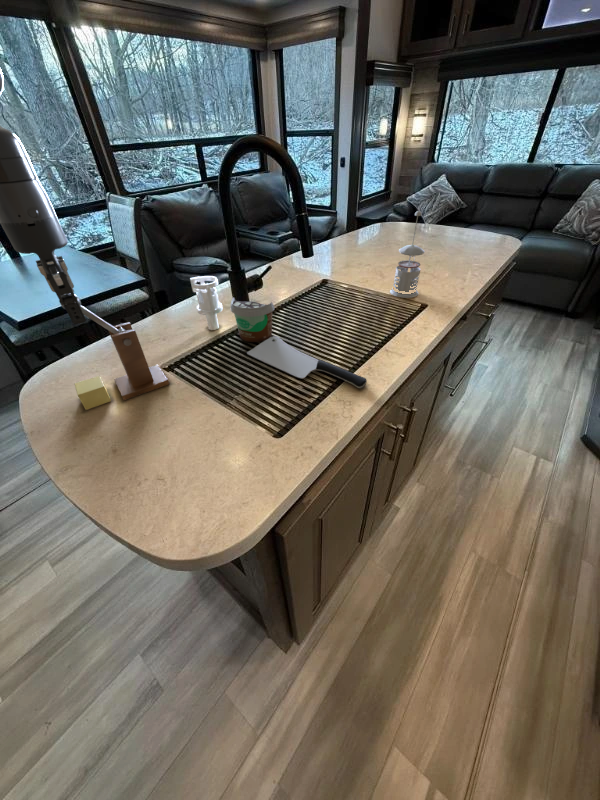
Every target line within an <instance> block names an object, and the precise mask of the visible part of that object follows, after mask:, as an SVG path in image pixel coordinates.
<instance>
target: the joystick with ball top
mask: <svg viewBox="0 0 600 800" xmlns="http://www.w3.org/2000/svg"><path fill="white" fill-rule="evenodd" d="M70 295H71V293H65V294H63V295H62V297H65V296H70ZM75 296H76V297H77V298H78V304H79V306H80V308H81V310H82V312H83V314H84V316H85V317H86V318H89V319H90V320H91V321H93V322H95V323H97V324H98V325H100V326H101V327H103V328H104V329H106V330H107V331H108V330H109V331H110V332H112V333H113V334H117V333H120V332H124V331H126V330H125V329H123V328H122V327H120V328H119V329H116V328H115V327H113V326H114V325H112V324H111V323H109V322H107V321H106V320H105V319H103V318H101V317H99V316H98V315H97V314H96V313H94V312H92V311H91V310H89V309H87V308H86V307H85V306H83V305H82V301H81V298H80V297H79V296H78V295H76V294H75ZM60 306H61V308H63V309H64V310H65V311H66V309H65V307H64V305H62V304H60ZM109 331H108V332H109Z"/></svg>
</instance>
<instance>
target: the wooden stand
mask: <svg viewBox="0 0 600 800" xmlns="http://www.w3.org/2000/svg"><path fill="white" fill-rule="evenodd" d="M112 326H113V327H115V328H116V329H119V328H120V327H122V328H123V329H125V330H126V331H124V332H120V333H117V334H113V333H112V332H110V331H109V330H107V331H108V333H109V336H110V338H111V341H112V343H113V345H114V348H115V351H116V352H117V355H118V357H119V359H120V362H121V364H122V366H123V369H124V371H125V375H122V376H119V377H115V378H113V380H114V383H115V385H116V387H117V389H118V391H119V393H120V395H121V398H122V399H123V401H126V400H129V399H132V398H135V397H138V396H140V395H143V394H145V393H146V394H147V393H148V392H151V391H155V390H158V389H160V388H162V387H165V386H169V385H170V381H169V379H168V377H167V376H166V375H165V373H164V371H163V370H162V368H160V366H159V364H154V365H152V366H150V367H149V364H148V361H147V359H146V356H145V353H144V350H143V348H142V345H141V342H140V339H139V336H138V334H137V332H136V329H135V328H133V327H132V324H131V322H130V321H127V322H123V323H120V324H116V325H112Z"/></svg>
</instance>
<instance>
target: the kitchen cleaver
mask: <svg viewBox="0 0 600 800" xmlns="http://www.w3.org/2000/svg"><path fill="white" fill-rule="evenodd" d="M246 354H247V355H248V356H250V357H252V358H253V359H256V360H258V361H260V362H263V363H264V364H267V365H269V366H271V367H273V368H276V369H278V370H280V371H282V372H283V373H286V374H288V375H291V376H292V377H295V378H298V379H302V380H304V379H305V378H306V377H307V376H308V375H309V374H311V372H313V371H316V372H322V373H325V374H328V375H330V376H332V377H335V378H337V379H339V380H341V381H344V382H345V383H348V384H351V385H352V386H354V387H355V388H357V389H364V388H365V387H366V385H367V381H368V380H367V378H366V377H364V376H361V375H358V374H355V373H353V372H351V371H348V370H346V369H344V368H341V367H339V366H336V365H335V364H333V363H329V362H327V361H324V360H321V359H317V358H315V357H313V356H311V355H309V354H306V353H304V352H302V351H300V350H298V349H296V348H294V347H293V346H291V345H290V344H288V343H287V342H285V341H284V340H283V339H281V337H279V336H277V335H272V336H271V337H270V338H268V339H267V340H264V341H261V343H259V344H258V345H256V346H255V347H253V348H252V349H250V350H248V351H247V352H246Z"/></svg>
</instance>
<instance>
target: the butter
mask: <svg viewBox="0 0 600 800" xmlns="http://www.w3.org/2000/svg"><path fill="white" fill-rule="evenodd" d="M74 387H75V392H76V395H77V397H78V399H79V400H80V402H81V404H82V407H84V409H85V411H88V410H90V409H94V408H96V407H98V406H101V405H104V404H107V403H110V402H112V399H111V396H110V394H109V392H108V390H107V387H106V385H105V382H103V379H102V377H101V375H97V376H94V377H90V378H87V379H84V380H81V381H78V382H75V383H74Z"/></svg>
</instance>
